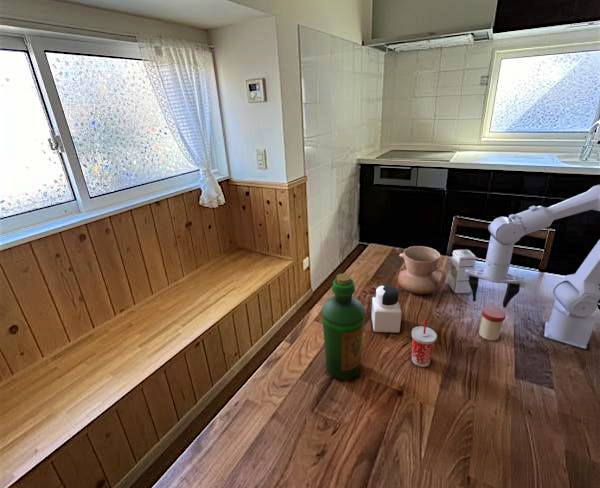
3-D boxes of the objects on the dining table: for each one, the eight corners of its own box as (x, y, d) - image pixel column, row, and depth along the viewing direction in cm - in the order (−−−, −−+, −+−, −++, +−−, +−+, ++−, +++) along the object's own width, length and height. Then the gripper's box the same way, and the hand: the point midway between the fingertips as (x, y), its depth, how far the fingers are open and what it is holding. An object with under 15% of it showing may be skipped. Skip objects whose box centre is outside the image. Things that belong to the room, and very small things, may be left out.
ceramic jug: (386, 285, 125) (388, 251, 119) (409, 272, 133) (413, 240, 127) (430, 307, 112) (435, 269, 106) (453, 290, 120) (458, 255, 114)
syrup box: (470, 293, 118) (477, 256, 112) (453, 293, 118) (459, 256, 112) (463, 284, 123) (470, 249, 117) (447, 285, 123) (452, 249, 118)
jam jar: (500, 332, 99) (505, 311, 96) (497, 343, 95) (502, 321, 92) (480, 326, 102) (485, 305, 98) (477, 336, 98) (481, 314, 95)
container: (395, 317, 108) (398, 282, 102) (399, 333, 101) (403, 296, 95) (371, 316, 108) (372, 282, 103) (373, 332, 101) (375, 296, 96)
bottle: (362, 387, 83) (366, 291, 72) (319, 381, 85) (317, 287, 74) (363, 356, 93) (367, 267, 81) (325, 352, 95) (323, 264, 83)
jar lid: (506, 314, 96) (507, 310, 95) (503, 325, 92) (504, 320, 91) (483, 307, 99) (484, 303, 99) (479, 317, 95) (480, 313, 94)
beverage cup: (412, 369, 88) (417, 325, 82) (406, 352, 93) (410, 310, 87) (436, 369, 87) (442, 325, 82) (428, 352, 93) (434, 310, 87)
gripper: (528, 259, 91) (517, 300, 97) (469, 250, 98) (462, 290, 103) (530, 270, 86) (519, 314, 91) (467, 261, 92) (460, 302, 97)
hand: (489, 302), depth 97 cm, fingers open, 7 cm apart
